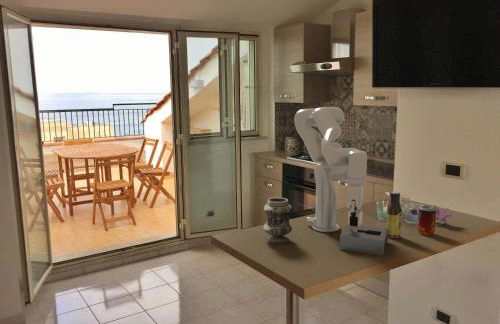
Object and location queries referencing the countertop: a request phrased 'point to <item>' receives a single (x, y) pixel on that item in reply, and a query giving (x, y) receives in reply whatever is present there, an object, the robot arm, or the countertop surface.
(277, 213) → the apothecary jar
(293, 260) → the countertop surface
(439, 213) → the lily
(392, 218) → the sauce bottle
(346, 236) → the slotted grey box
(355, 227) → the peg
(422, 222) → the soda can
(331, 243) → the countertop surface
